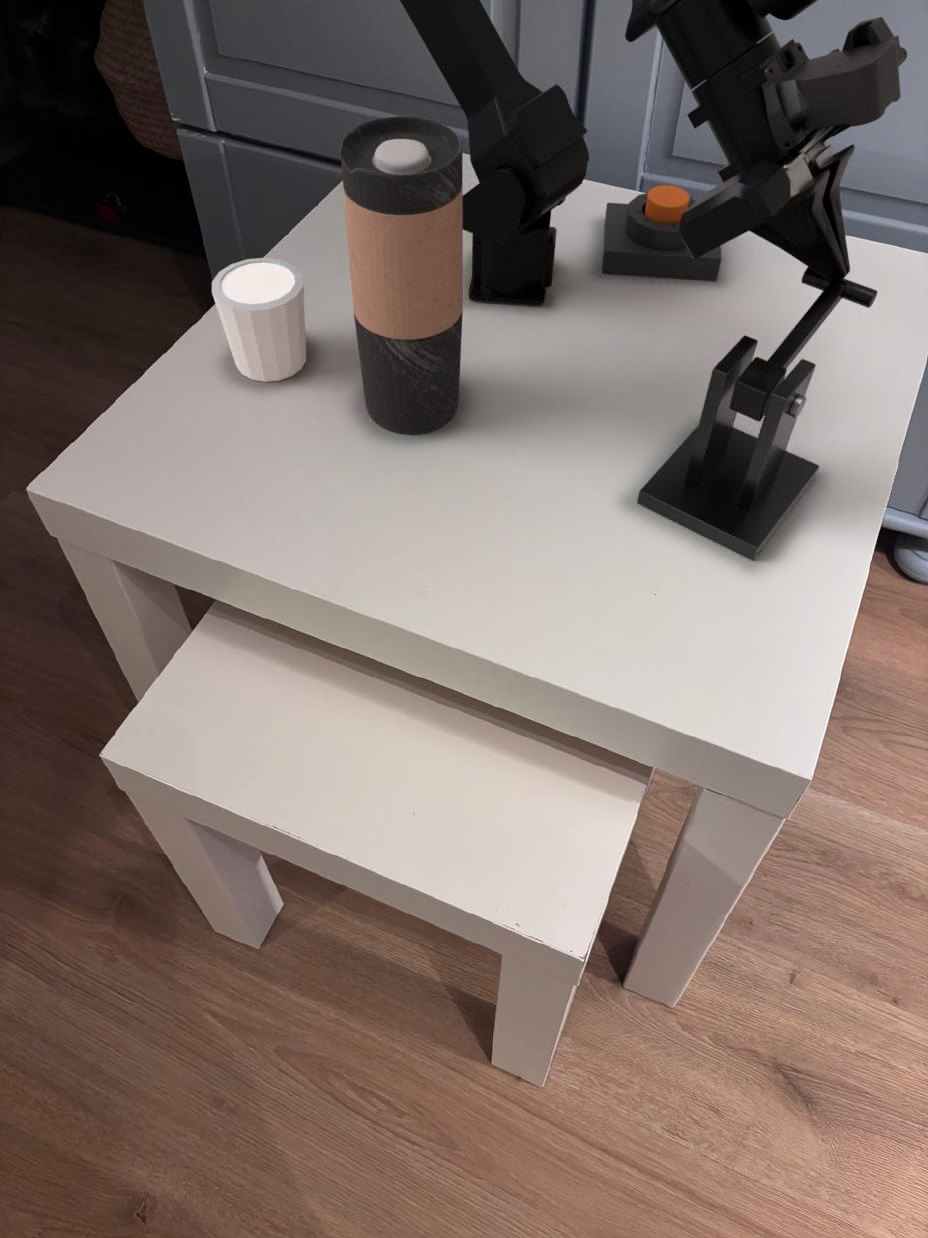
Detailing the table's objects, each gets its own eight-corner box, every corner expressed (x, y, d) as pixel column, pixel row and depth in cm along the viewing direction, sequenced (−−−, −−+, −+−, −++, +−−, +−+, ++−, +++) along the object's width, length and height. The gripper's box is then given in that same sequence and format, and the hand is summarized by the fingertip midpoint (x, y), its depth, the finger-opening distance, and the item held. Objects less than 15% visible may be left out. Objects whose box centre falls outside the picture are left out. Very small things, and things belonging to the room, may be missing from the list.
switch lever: (805, 283, 70) (813, 254, 68) (871, 308, 68) (882, 279, 66) (709, 400, 64) (715, 372, 62) (779, 431, 62) (788, 403, 60)
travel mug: (475, 384, 77) (481, 126, 61) (442, 447, 72) (439, 185, 57) (384, 363, 78) (367, 106, 62) (346, 423, 74) (317, 163, 58)
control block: (601, 273, 86) (607, 231, 83) (604, 224, 91) (609, 182, 88) (716, 281, 86) (726, 239, 83) (712, 231, 91) (721, 190, 87)
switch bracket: (703, 427, 74) (736, 302, 65) (815, 477, 71) (864, 353, 62) (636, 503, 69) (662, 378, 60) (752, 561, 66) (797, 438, 57)
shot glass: (329, 346, 80) (320, 269, 74) (285, 396, 76) (272, 318, 70) (257, 324, 81) (243, 247, 76) (210, 372, 77) (192, 294, 72)
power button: (644, 224, 85) (647, 205, 83) (644, 202, 87) (647, 183, 86) (686, 227, 84) (690, 208, 83) (685, 205, 87) (689, 186, 85)
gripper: (772, 37, 51) (901, 298, 56) (905, -65, 60) (1006, 166, 65) (621, 143, 60) (743, 360, 65) (757, 40, 69) (855, 236, 74)
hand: (841, 277), depth 67 cm, fingers closed
